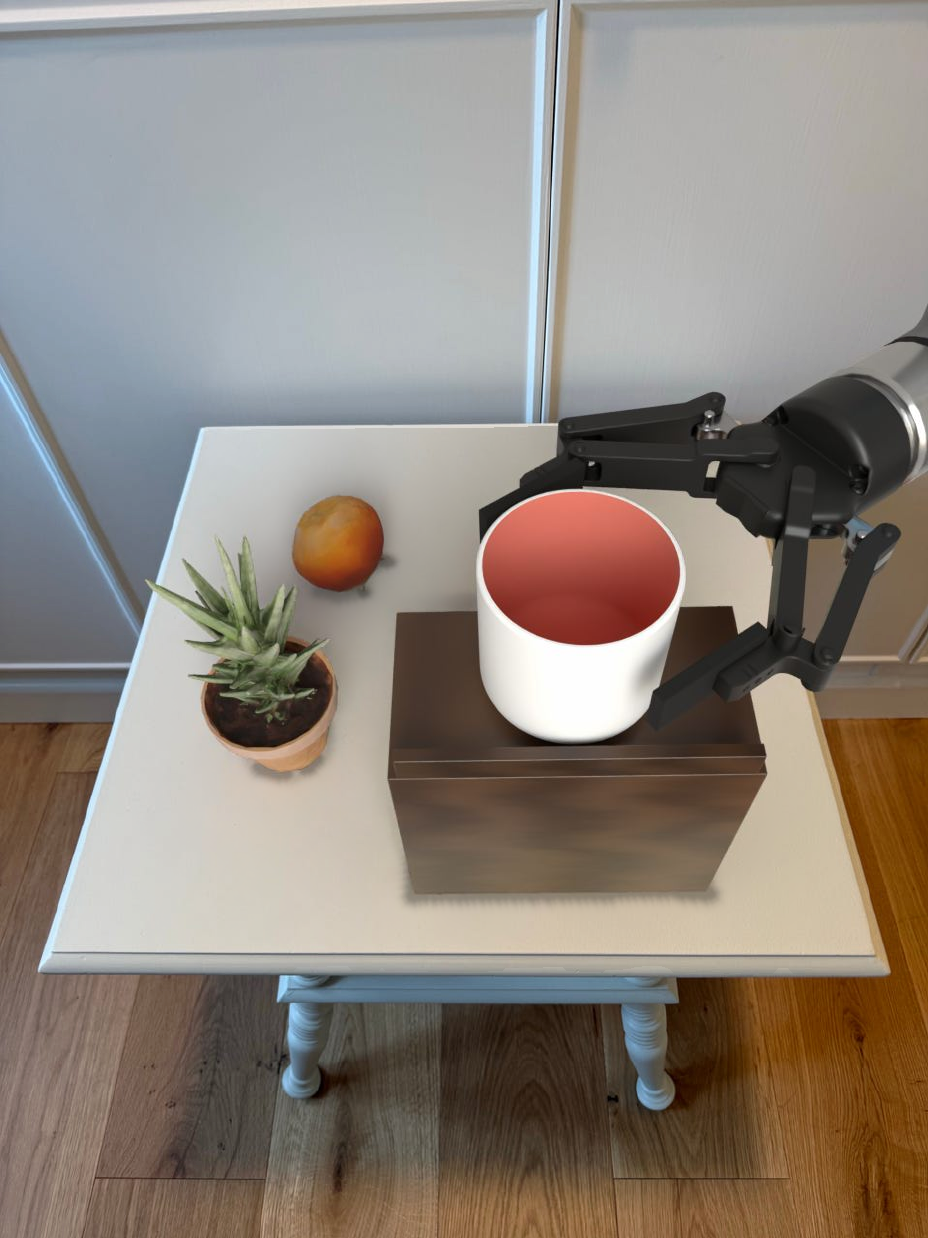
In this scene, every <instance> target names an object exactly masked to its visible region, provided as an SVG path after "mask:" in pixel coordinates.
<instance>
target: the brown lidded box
mask: <svg viewBox="0 0 928 1238" xmlns="http://www.w3.org/2000/svg"><path fill="white" fill-rule="evenodd" d="M395 614H396V615H395V633H394V634H395V636H394V650H393V666H392V667H393V669H392V671H393V672H392V685H391V686H392V688H391V706H390V707H391V708H390V722H389V723H390V724H389V740H388V741H389V743H388V757H387V759H388V761H387V777H386V778H387V779H386V781H387V783H388V787H389V793H390V797H391V800H392V805H393V810H394V813H395V817H396V822H397V826H398V830H399V834H400V838H401V844H402V848H403V852H404V856H405V861H406V864H407V869H408V873H409V877H410V883H411V885H412V890H413V894H414V895H472V894H474V895H478V894H479V895H481V894H482V895H483V894H485V895H486V894H487V895H488V894H493V895H494V894H565V893H566V894H575V893H581V894H582V893H586V894H588V893H589V894H590V893H671V892H672V893H673V892H679V893H680V892H682V893H683V892H707V891H708V889H709V887H710V885H711V883H712V881H713V879H714V878H715V876H716V874H717V872H718V870H719V869H720V866H721V864H722V862H723V860H724V858H725V857H726V855H727V853H728V851H729V849H730V847H731V845H732V843H733V841H734V839H735V838H736V836H737V834H738V833H739V830H740V828H741V826H742V824H743V822H744V820H745V818H746V817H747V814H748V813H749V811H750V808H751V806H752V805H753V803H754V801H755V799H756V797H757V795H758V793H759V791H760V790H761V788H762V786H763V784H764V782H765V780H766V778H767V776H768V770H767V769H768V768H767V765H766V760H767V757H768V756H767V751H766V746H765V743H762V739H761V735H760V731H759V726H758V722H757V721H758V720H757V716H756V712H755V706H754V702H753V697H752V693H751V692H752V691H750V692H749V693H747V694H746V695H744V696H743V697H742V698H740V699H739V700H737V701H733V702H728V703H726V702H725V701H724V700H723V699H722V698H721V697H720V696H719V695H718V694H717V693H716V692H714V693H713V694H711V695H710V696H708V697H707V698H705V699H704V700H702V701H701V702H700V703H698V704H697V705H695V706H694V707H692V708H691V709H689V710H688V711H686V712H685V713H683V714H682V715H680V716H679V717H677V718H676V719H675V720H673V721H672V722H670V723H669V724H667V725H666V726H664V727H663V728H661V729H660V730H658V731H657V732H656V731H655V730H654V729H653V728H652V727H651V726H650V725H649V724H648V723H647V721H646V717H647V713H648V709H649V708H648V709H647V711H646V712H645V713H644V714H643V716H642V717H641V718H640V719H639V720H638V721H636V722H635V723H634V724H633V725H632V726H630V727H629V728H628V729H626V730H624V731H623V732H621V733H619V734H617V735H615V736H613V737H611V738H608V739H605V740H602V741H597V742H593V743H586V744H561V743H555V742H550V741H546V740H543V739H540V738H537V737H534V736H532V735H530V734H528V733H526V732H524V731H522V730H521V729H519V728H517V727H516V726H515V725H513V724H512V723H510V722H509V721H508V720H507V719H506V718H505V717H504V716H503V715H502V714H501V713H500V712H499V711H498V709H497V708H496V707H495V705H494V704H493V702H492V701H491V700H490V698H489V696H488V694H487V692H486V690H485V687H484V684H483V681H482V677H481V672H480V658H479V633H478V610H451V611H449V610H448V611H442V610H441V611H408V612H407V611H400V612H396V613H395ZM738 634H739V631H738V625H737V621H736V616H735V611H734V607H733V605H705V606H703V605H702V606H700V605H699V606H680V608H679V612H678V616H677V620H676V624H675V627H674V631H673V635H672V639H671V643H670V647H669V650H668V654H667V658H666V662H665V666H664V669H663V673H662V677H661V681H660V685H659V686H661V685H662V684H664V683H665V682H667V681H668V680H670V679H671V678H673V677H674V676H676V675H677V674H679V673H680V672H682V671H683V670H685V669H686V668H688V667H690V666H691V665H693V664H694V663H696V662H697V661H699V660H700V659H702V658H703V657H705V656H706V655H708V654H709V653H711V652H712V651H714V650H715V649H717V648H718V647H720V646H721V645H723V644H724V643H726V642H727V641H729V640H730V639H732V638H733V637H735V636H736V635H738Z"/></svg>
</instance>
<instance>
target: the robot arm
mask: <svg viewBox="0 0 928 1238" xmlns="http://www.w3.org/2000/svg"><path fill="white" fill-rule="evenodd" d="M726 402H727V397H726V396H725V395H724V394H723V393H722V392H718V391H710V392H707V393H705V394H702V395H699V396H697V397H695V398H692V399H690V400H688V401H686V402H680V403H679V402H678V403H671V404H662V405H655V406H649V407H640V408H632V409H623V410H616V411H607V412H599V413H593V414H584V415H577V416H569V417H564V418H561V419H560V420H559V421H558V423H557V433H556V452H555V453H556V454H555V457H553V458H551V459H548V460H547V461H546V462H544V463H542V464H540V465H539V466H536V467H534V468H533V469H531V470H529V471H527V472H525V473H524V474H523V475H522V476H521V477H520V478H519V483H518V484H519V487H518V488H516V489H514V490H512V491H510V492H508V493H507V494H505V495H503V496H501V497H500V498H498V499H495V500H494V501H492V502H490V503H488V504H486V505H485V506H483V507H481V508H478V531H479V533H478V534H479V545H480V544H481V542H482V540H483V538H484V536H485V534H486V532H487V531H488V529H489V528H490V527H491V525H492V524H493V523H494V522H495V521H496V520H497V519H498V518H499V517H500V516H501V515H502V514H503V513H504V512H506V511H507V510H508V509H510V508H511V507H513V506H514V505H516V504H518V503H520V502H522V501H524V500H526V499H528V498H531V497H533V496H536V495H539V494H543V493H546V492H551V491H556V490H565V489H584V488H585V487H586V488H602V489H603V488H605V489H627V490H649V491H650V490H651V491H671V492H685V493H687V494H688V495H689V497H691V498H693V499H694V498H695V499H707V500H708V499H711V500H715V505H716V506H717V507H718V508H719V509H720V510H722V511H723V512H725V514H728V515H730V516H732V517H734V518H736V519H737V520H738V521H739V522H740V523H741V525H742V527H743V528H744V529H745V530H746V531H747V532H748V533H750V535H751V536H753V537H754V538H755V539H757V538H759V537H763V538H765V539H769V540H773V544H772V556H771V566H772V570H771V582H770V590H769V591H770V592H769V600H768V601H769V602H768V612H767V622H766V627H765V626H764V625H763V624H762V623H761V622H760V621H756V622H754V623H753V624H751V625H750V626H749V627H747V628H746V629H743V630H742V631H741V632H738V635H736V636H735V637H733V638H732V639H730V640H729V641H727V642H726V643H724V644H723V645H721V646H720V647H718V648H717V649H715V650H714V651H712V652H711V653H709V654H708V655H706V656H705V657H703V658H702V659H700V660H699V661H697V662H696V663H694V664H693V665H691V666H690V667H688V668H686V669H685V670H683V671H682V672H680V673H679V674H677V675H676V676H674V677H673V678H671V679H670V680H668V681H667V682H665V683H664V684H662V685H661V686H659V687H658V688H656V689H655V690H653V692H652V696H651V701H650V705H649V709H648V713H647V717H646V721H647V723H648V724H649V725H650V726H651V727H652V728H653V729H654V730H655V731H656V732H657V731H658V730H660V729H661V728H663V727H664V726H666V725H667V724H669V723H670V722H672V721H673V720H675V719H676V718H677V717H679V716H680V715H682V714H683V713H685V712H686V711H688V710H689V709H691V708H692V707H694V706H695V705H697V704H698V703H700V702H701V701H702V700H704V699H705V698H707V697H708V696H710V695H711V694H713V693H714V692H716V693H717V694H718V695H719V696H720V697H721V698H722V699H723V700H724V701H725V702H726V703H728V702H733V701H737V700H739V699H740V698H742V697H743V696H744V695H746V694H747V693H749V692H753V690H755V689H756V688H758V687H759V686H761V685H762V684H763V683H765V682H766V681H768V680H769V679H771V678H772V677H774V676H776V675H778V674H787V675H789V676H792V677H794V678H796V679H798V680H800V684H801V686H802V687H803V688H804V689H805V690H807V691H809V692H812V693H820V692H822V691H823V690H824V691H825V688H826V687H827V685H828V684H829V681H830V679H831V678H832V675H833V674H834V672H835V670H836V668H837V667H838V664H839V663H840V661H841V658H842V657H843V653H844V651H845V648H846V645H847V642H848V640H849V637H850V635H851V633H852V629H853V627H854V624H855V621H856V618H857V617H858V614H859V611H860V608H861V605H862V603H863V601H864V597H865V595H866V592H867V590H868V588H869V585H870V582H871V580H872V579H873V578H875V577H876V576H877V575H878V574H879V573H880V572H881V571H882V570H883V569H884V568H885V567H886V565H887V563H888V561H889V559H890V557H891V556H892V554H893V552H894V550H895V548H896V546H897V544H898V542H899V540H900V538H901V536H902V531H901V530H900V528H899V527H898V526H897V525H895V524H894V523H891V522H881V523H880V524H878V525H877V526H876V527H874V525H871V524H870V523H868V522H867V521H865V520H863V519H862V518H860V517H859V516H860V515H862V514H863V513H866V512H867V511H869V510H870V509H871V508H873V507H875V506H876V505H877V504H880V503H881V502H882V501H883V500H885V499H888V497H890V496H892V495H894V493H896V492H897V491H898V490H899V489H900V488H902V487H905V486H907V485H909V484H910V483H911V482H913V481H914V480H916V479H918V478H919V477H920V476H922V475H924V474H925V473H927V472H928V304H926V306H925V309H924V312H923V314H922V317H921V318H920V319H919V321H918V322H917V324H916V325H915V326H914V327H913V328H912V329H910V330H908V331H907V332H905V333H903V334H902V335H900V336H899V337H897V338H894V340H892V341H890V342H888V343H886V344H884V345H883V346H881V347H879V348H877V349H875V350H873V351H871V352H869V353H868V354H866V355H864V356H862V357H861V358H858V359H857V360H855V361H853V362H852V363H849V364H847V365H846V366H844V367H843V368H840V369H838V370H837V371H835V372H834V373H832V374H831V375H830V376H828V377H827V378H825V379H823V380H821V381H819V382H817V383H814V384H813V385H811V386H809V387H808V388H806V389H805V390H802V391H801V392H799V393H797V394H796V395H793V396H792V397H791V398H788V399H787V400H785V401H784V402H782V403H781V404H779V405H778V406H777V407H775V408H774V409H773V410H772V411H771V412H770V413H769V414H767V415H766V416H765V417H764V418H763V419H761V420H759V421H756V422H750V423H742V424H739V423H738V422H737V421H736V420H735V419H733V417H731V415H729V413H727V412H726V411H725V406H726ZM713 462H718V466H717V470H716V474H715V476H707V475H708V474H707V473H708V470H709V466H710V465H711V463H713ZM590 463H593V464H592V465H590ZM837 538H840V539H841V540H842V541H843V546H842V548H841V551H840V554H841V556H842V558H843V562H842V563H843V565H844V566H845V568H844V570H843V572H842V575H841V577H840V579H839V582H838V583H837V586H836V588H835V590H834V593H833V595H832V598H831V600H830V603H829V605H828V608H827V610H826V613H825V616H824V618H823V621H822V622H821V626H820V628H819V631H818V633H817V636H816V638H815V640H814V642H812V641H810V640H808V639H806V638H804V637H803V635H804V634H805V631H806V629H807V628H806V627H803V623H804V608H805V596H806V595H805V594H806V581H807V569H808V567H807V566H808V553H809V541H810V540H833V539H837Z"/></svg>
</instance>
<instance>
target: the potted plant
mask: <svg viewBox="0 0 928 1238" xmlns="http://www.w3.org/2000/svg"><path fill="white" fill-rule="evenodd" d="M213 536H214V542H215V544H216V548H217V552H218V554H219V557H220V562H221V565H222V568H223V571H224V574H225V579H226V584H227V587H228V589H229V592H230V595H231V599H230V598H229V595H228V593H227V592H226V590H225V589H224V587H223V586H220V589H221V592H222V595H221V594H220V593H219V592H218V590H216V589H215V588H214V587H213V586H212V585H211V583H209V582H208V581H207V580H206V579H205V578H204V577H203V576H202V575H201V574H200V573H199V572H198V571H197V570H196V568H195V567H194V566H193V565H192V564H191V563H189V562H188V561H187V560H186V559H185V558H183V557H182V558H181V562H182V564H183V566H184V567H185V570H186V573H187V574H188V576H189V578H190V580H191V581H192V583H193V584H194V586H195V588H196V590H194V593H195V594H196V596H197V598H198V599H199V601H200V602H201V604H202V605H201V604H199V603H197V602H195V601H193V600H190V599H188V598H186V597H185V596H183V595H180V594H178V593H176V592H174V591H173V590H170V589H168V588H166V587H165V586H162V585H159V584H157V583H156V582H153V581H152V580H150V579H148V578H144V581H145V582H146V583H147V585H148V587H149V589H151V590H152V591H154V592H155V593H156V594H157V595H158V596H160V597H161V598H162V599H164V600H165V601H167V602H169V604H172V605H173V606H175V607H176V608H178V609H179V610H181V612H182V613H183V614H185V615H186V616H187V617H188V618H189V619H190V620H191V621H193V622H194V623H195V624H196V625H197V626H198V627H200V628H201V629H202V630H203V631H205V632H206V633H207V634H208V635H209V636H210V637H212V638H213V639H214V641H198V640H191V639H184V640H183V642H184V644H186V645H188V646H189V647H192V649H195V650H197V651H199V652H202V653H206V654H209V655H214V656H217V657H220V658H219V659H218V660H217V661H216V663H213V664H211V666H210V667H211V669H210V671H209V672H208V674H198V673H197V674H194V673H193V674H191V673H190V674H187V677H188V678H190V679H192V680H195V681H200V682H204V683H203V687H202V690H201V695H200V704H201V713H202V715H203V718H204V720H205V723H206V726H207V728H208V730H209V731H210V733H211V734H212V735H213V736H214V738H215V739H216V740H217V741H218V743H220V745H221V746H222V747H223V748H225V749H226V750H228V751H229V752H231V753H232V754H235V755H236V756H238V757H243V758H246V759H250V760H253V761H255V762H256V763H258V764H259V765H261V766H263V767H264V768H266V769H268V770H271V771H275V772H279V773H286V772H292V771H297V770H302V769H304V768H306V767H308V766H310V765H312V763H314V762H315V761H316V760H317V759H318V758H319V757H320V756H321V754H322V753H323V751H324V750H325V748H326V745H327V740H328V733H329V727H330V725H331V723H332V721H333V719H334V717H335V715H336V713H337V709H338V702H339V701H338V698H339V696H338V694H339V685H338V680H337V679H338V678H337V676H336V674H335V671H334V669H333V666H332V664H331V662H330V660H329V659H328V657H327V656H326V655H325V654H324V653H323V652H322V650H320V649H321V648H322V647H324V646H325V645H327V644H328V643H329V642H330V641H331V638H330V637H328V638H325V639H323V640H322V641H320V638H318V637H317V639H315V640H314V641H312V642H311V643H309V642H308V641H306V640H304V639H302V638H299V637H295V636H293V635H288V632H289V629H290V626H291V624H292V621H293V619H294V615H295V612H296V608H297V604H296V603H297V601H296V597H297V591H298V589H297V585H296V584H294V585H292V587H291V589H290V590H289V592H288V593H287V595H286V589H285V588H286V587H285V584H284V583H281V585H280V586H278V588H277V590H276V592H275V595H274V597H273V599H272V600H271V601H270V603H268V605H267V606H266V607H265V608H262V609H260V603H259V598H258V588H257V578H256V571H255V566H254V561H253V556H252V550H251V545H250V543H249V540H248V538H247V536H246V535H243V537H242V543H241V549H242V550H241V551H242V552H241V553H240V552H237V560H238V571H239V581H238V577H237V575H236V572H235V569H234V566H233V564H232V562H231V559H230V557H229V554H228V553H227V551H226V549H225V547H224V546H223V543H222V541H221V540H220V539H219V537H218V536H217V534H216V533H215V534H214V535H213ZM239 582H240V584H239Z"/></svg>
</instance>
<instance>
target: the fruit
mask: <svg viewBox="0 0 928 1238" xmlns="http://www.w3.org/2000/svg"><path fill="white" fill-rule="evenodd" d="M383 528H384V527H383V524H382V521H381V518H380V516H379V515H378V512H377V510H376V509H375V508H374V507H373V506H372V505H370V504H369V503H368V502H366V501H365V500H363V499H361V498H359V497H356V496H353V495H352V496H351V495H340V494H338V495H332V496H329V497H325V498H324V499H322V500H320V501H318V502H317V503H316V504H314V505H312V506H310V508H309V509H308V510H306V511H304V513H303V514H302V515H301V517H300V519H299V521H298V522H297V525H296V527H295V531H294V536H293V541H292V549H291V556H292V557H291V558H292V562H293V564H294V568H295V570H296V571H297V573H298V574H299V575H300V576H301V577H302V578H304V579H305V580H306V581H308V582H309V583H310V584H312V585H313V586H315V587H317V588H320V589H323V590H328V591H332V592H336V593H343V592H349V591H354V590H361V591H363V592H365V586H366V584H367V582H368V581H369V579H370V578H371V577H372V575H373V574H374V573H375V571H376V570H377V568H378V565H379V563H380V562H381V561H384V562H389V559H386V558H385V557H383V553H384V552H383V550H384V545H385V535H384V529H383Z"/></svg>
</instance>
